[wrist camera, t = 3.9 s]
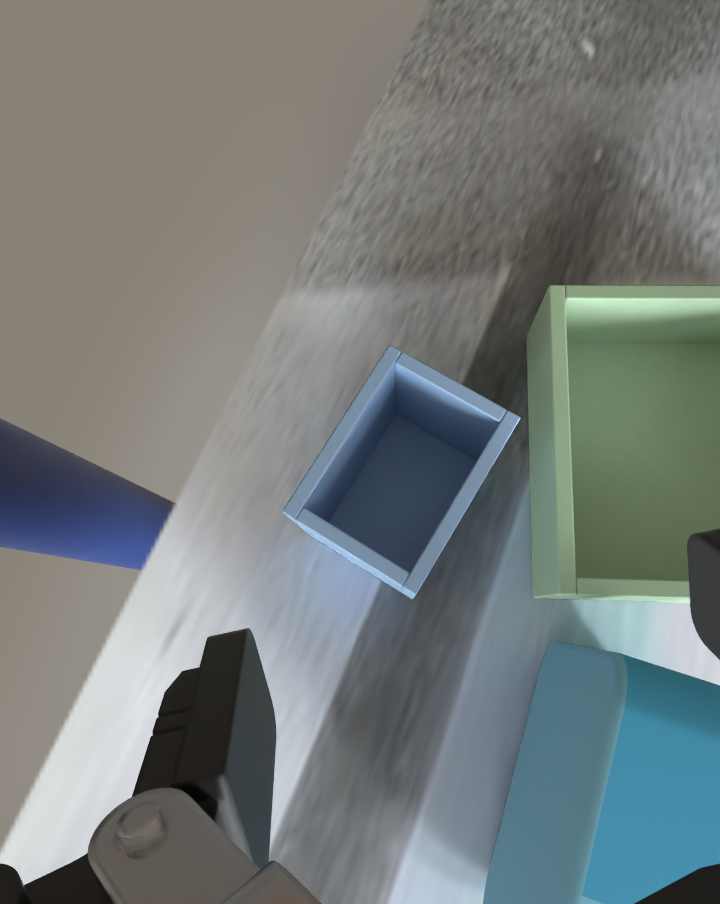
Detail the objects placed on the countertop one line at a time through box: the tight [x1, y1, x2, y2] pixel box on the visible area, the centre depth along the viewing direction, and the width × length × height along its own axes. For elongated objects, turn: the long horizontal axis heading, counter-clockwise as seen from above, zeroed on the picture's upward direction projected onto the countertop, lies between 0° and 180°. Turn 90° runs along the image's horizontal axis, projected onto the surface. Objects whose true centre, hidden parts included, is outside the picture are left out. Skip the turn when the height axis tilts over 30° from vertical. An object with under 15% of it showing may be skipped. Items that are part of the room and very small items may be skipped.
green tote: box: [526, 285, 720, 603], centre depth 31 cm, size 13×13×6 cm
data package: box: [483, 642, 720, 904], centre depth 25 cm, size 12×4×12 cm, turn 162°
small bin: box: [283, 345, 520, 599], centre depth 31 cm, size 6×8×8 cm
